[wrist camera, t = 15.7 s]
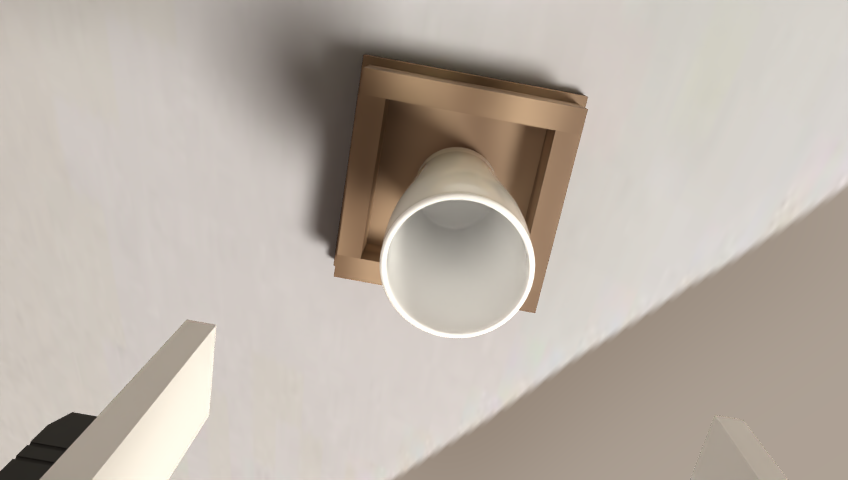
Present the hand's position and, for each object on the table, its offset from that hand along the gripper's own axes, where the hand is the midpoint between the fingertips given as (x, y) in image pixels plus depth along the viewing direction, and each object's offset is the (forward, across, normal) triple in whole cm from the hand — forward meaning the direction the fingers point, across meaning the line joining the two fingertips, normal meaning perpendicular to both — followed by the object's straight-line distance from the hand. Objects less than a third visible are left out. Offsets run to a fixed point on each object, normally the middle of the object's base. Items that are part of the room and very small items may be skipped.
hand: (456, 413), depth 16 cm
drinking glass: (+26, 0, 0) cm, 26 cm away
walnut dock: (+27, 0, 0) cm, 27 cm away
